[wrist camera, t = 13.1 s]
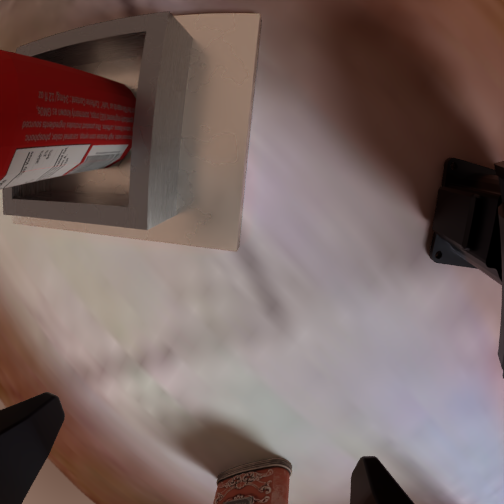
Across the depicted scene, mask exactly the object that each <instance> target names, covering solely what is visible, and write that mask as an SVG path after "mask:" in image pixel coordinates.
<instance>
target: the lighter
mask: <svg viewBox="0 0 504 504" xmlns="http://www.w3.org/2000/svg"><path fill="white" fill-rule="evenodd" d="M291 474H292V465H291V463H290V462H289V461H287V460H285V459H281V458H273V459H267V460H262V461H257V462H253V463H249V464H245V465H241V466H238V467H236V468H233V469H230V470H228V471H225V472H223V473H221V474H219V475H218V479H217V486H218V487H217V491H216V495H215V499H214V503H213V504H288V493H289V477H290V476H291Z"/></svg>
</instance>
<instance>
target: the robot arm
mask: <svg viewBox="0 0 504 504" xmlns="http://www.w3.org/2000/svg"><path fill="white" fill-rule="evenodd" d="M452 162H453V163H454V169H453V170H452V169H451V163H452ZM494 166H495V170H493V169H489V168H486V167H483V166H480V165H477V164H473V163H470V162H467V161H463V160H460V159H456V158H448V159H447V160H446V161H445V164H444V173H443V180H442V187H441V188H440V189H439V192H438V198H437V205H436V211H435V216H434V222H433V227H432V229H433V231H434V234H433V239H432V244H431V249H430V258H431V259H432V260H433V261H434V262H436V263H442V264H449V265H456V266H463V267H470V268H477V269H479V270H481V271H482V272H484V273H485V274H486V275H488V276H489V277H491V278H492V279H494V280H495V281H496V282H498V283H499V284H501V285H502V309H501V327H500V339H499V349H498V356H499V360H500V363H501V367H502V369H503V378H504V161H502V162H498V163H494ZM438 251H440V254H439V256H438V257H435V254H436V252H438ZM64 417H65V415H64V411H63V408H62V405H61V402H60V399H59V398H58V396H56V395H54V394H52V393H49V392H45V393H43V394H40V395H38V396H35V397H33V398H30V399H28V400H25V401H23V402H20V403H18V404H15V405H13V406H10V407H7V408H5V409H2V410H0V504H22V502H23V500H24V498H25V496H26V494H27V493H28V491H29V489H30V487H31V485H32V483H33V482H34V480H35V478H36V476H37V475H38V473H39V471H40V469H41V468H42V466H43V464H44V462H45V460H46V459H47V457H48V455H49V453H50V451H51V448H52V446H53V444H54V441H55V439H56V437H57V435H58V432H59V430H60V428H61V426H62V423H63V421H64ZM350 504H414V503H413V501H412V500H411V499H410V498H409V496H408V495H407V494H406V493H405V492H404V490H403V489H402V488H401V487H400V486H399V484H398V483H397V482H396V481H395V479H394V478H393V477H392V476H391V474H390V473H389V472H388V471H387V470H386V468H385V467H384V466H383V465H382V463H381V462H380V461H379V460H378V458H376V457H375V456H363V457H361V458H360V460H359V461H358V463H357V465H356V467H355V469H354V471H353V473H352V476H351V496H350Z"/></svg>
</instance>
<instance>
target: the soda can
mask: <svg viewBox="0 0 504 504" xmlns="http://www.w3.org/2000/svg"><path fill="white" fill-rule="evenodd" d="M135 105H136V98H135V96H134V94H133V93H132V91H131V90H130V89H129V88H128V87H126V86H125V85H124V84H122V83H119V82H116V81H113V80H110V79H107V78H104V77H101V76H98V75H95V74H92V73H88V72H85V71H82V70H79V69H75V68H72V67H68V66H65V65H61V64H57V63H54V62H50V61H46V60H42V59H38V58H34V57H30V56H26V55H22V54H17V53H13V52H8V51H3V50H0V189H4V188H8V187H12V186H16V185H21V184H25V183H29V182H34V181H39V180H43V179H48V178H53V177H58V176H63V175H69V174H74V173H80V172H86V171H91V170H97V169H104V168H108V167H110V166H112V165H113V164H115V163H117V162H119V161H120V160H122V159H124V158H125V156H126V155H127V153H128V152H129V151H130V149H131V148H132V136H133V124H134V114H135Z"/></svg>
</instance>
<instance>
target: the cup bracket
mask: <svg viewBox="0 0 504 504" xmlns="http://www.w3.org/2000/svg"><path fill="white" fill-rule="evenodd" d="M261 22H262V20H261V15H260V14H254V13H213V14H192V15H179V16H173V15H172V14H171V13H170V12H161V13H153V14H146V15H139V16H133V17H127V18H121V19H116V20H111V21H106V22H101V23H97V24H93V25H88V26H84V27H80V28H77V29H73V30H69V31H66V32H62V33H59V34H55V35H52V36H49V37H46V38H43V39H40V40H37V41H34V42H31V43H28V44H26V45H23V46H20V47H18V48H17V50H16V53H17V54H22V55H26V56H30V57H34V58H38V59H42V60H46V61H50V62H54V63H57V64H61V65H65V66H68V67H72V68H75V69H79V70H82V71H85V72H88V73H92V74H95V75H98V76H101V77H104V78H107V79H110V80H113V81H116V82H119V83H122V84H124V85H125V86H126V87H128V88H129V89H130V90H131V91H132V93H133V94H134V96H135V98H136V105H135V114H134V124H133V136H132V148H131V149H130V151H129V152H128V153H127V155H126V156H125V158H124V159H122V160H120V161H119V162H117V163H115V164H113V165H112V166H110V167H108V168H104V169H97V170H91V171H86V172H80V173H74V174H69V175H63V176H58V177H53V178H48V179H43V180H39V181H34V182H29V183H25V184H21V185H16V186H12V187H8V188H4V189H3V213H4V215H12V216H13V223H15V224H23V225H30V226H38V227H46V228H54V229H62V230H70V231H77V232H85V233H93V234H101V235H109V236H117V237H125V238H133V239H141V240H148V241H156V242H164V243H172V244H180V245H188V246H196V247H204V248H212V249H220V250H228V251H236V252H237V250H238V248H239V246H240V234H241V223H242V212H243V201H244V190H245V179H246V169H247V158H248V148H249V138H250V127H251V117H252V107H253V97H254V88H255V78H256V68H257V59H258V50H259V40H260V31H261Z"/></svg>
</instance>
